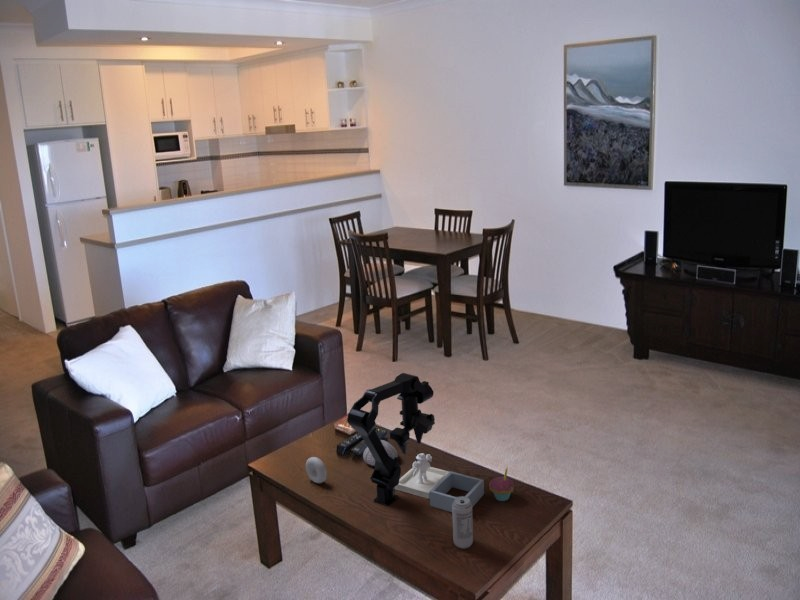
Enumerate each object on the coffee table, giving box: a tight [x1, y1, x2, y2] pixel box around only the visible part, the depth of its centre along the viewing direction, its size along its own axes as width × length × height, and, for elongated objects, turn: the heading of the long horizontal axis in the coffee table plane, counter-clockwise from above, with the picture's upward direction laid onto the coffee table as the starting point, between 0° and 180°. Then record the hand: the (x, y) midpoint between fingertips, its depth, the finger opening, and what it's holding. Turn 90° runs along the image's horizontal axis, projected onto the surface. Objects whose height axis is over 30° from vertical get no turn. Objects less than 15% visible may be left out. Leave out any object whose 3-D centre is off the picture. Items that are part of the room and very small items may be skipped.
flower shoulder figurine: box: [412, 453, 433, 484], centre depth 244 cm, size 9×4×12 cm, turn 135°
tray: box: [395, 466, 450, 500], centre depth 246 cm, size 16×14×2 cm
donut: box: [305, 456, 328, 484], centre depth 249 cm, size 10×4×10 cm, turn 48°
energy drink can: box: [451, 495, 474, 550], centre depth 208 cm, size 6×6×15 cm
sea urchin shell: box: [362, 439, 398, 467], centre depth 263 cm, size 13×14×8 cm
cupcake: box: [488, 466, 515, 502], centre depth 233 cm, size 9×8×12 cm
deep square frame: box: [429, 470, 485, 513], centre depth 233 cm, size 15×13×6 cm
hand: (412, 448), depth 245 cm, fingers open, 9 cm apart
